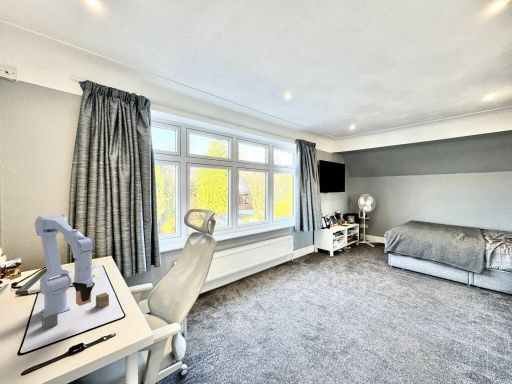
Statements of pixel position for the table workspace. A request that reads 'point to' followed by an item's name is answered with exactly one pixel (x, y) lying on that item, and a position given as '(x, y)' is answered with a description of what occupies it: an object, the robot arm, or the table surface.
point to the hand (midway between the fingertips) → (83, 299)
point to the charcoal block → (49, 319)
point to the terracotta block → (79, 300)
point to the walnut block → (102, 300)
